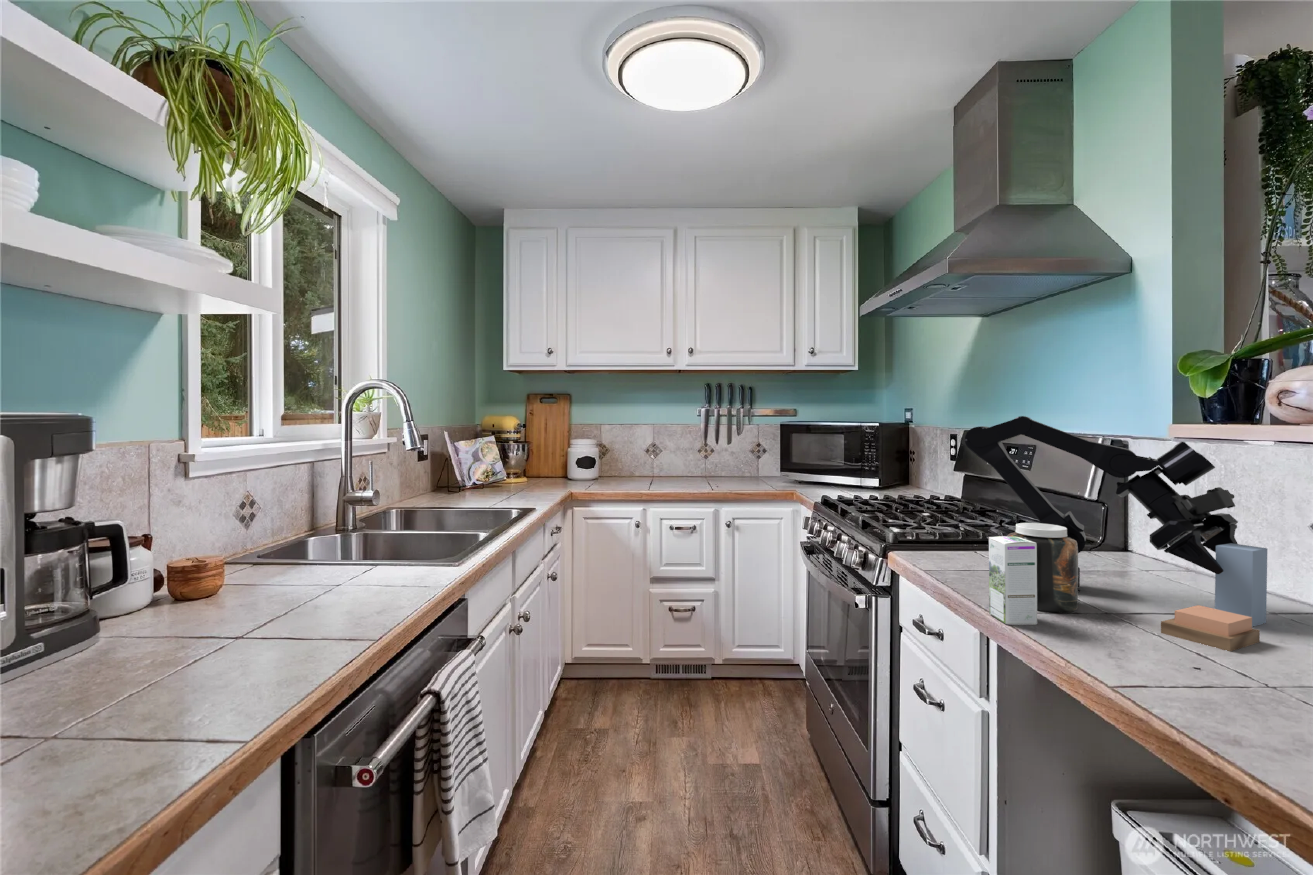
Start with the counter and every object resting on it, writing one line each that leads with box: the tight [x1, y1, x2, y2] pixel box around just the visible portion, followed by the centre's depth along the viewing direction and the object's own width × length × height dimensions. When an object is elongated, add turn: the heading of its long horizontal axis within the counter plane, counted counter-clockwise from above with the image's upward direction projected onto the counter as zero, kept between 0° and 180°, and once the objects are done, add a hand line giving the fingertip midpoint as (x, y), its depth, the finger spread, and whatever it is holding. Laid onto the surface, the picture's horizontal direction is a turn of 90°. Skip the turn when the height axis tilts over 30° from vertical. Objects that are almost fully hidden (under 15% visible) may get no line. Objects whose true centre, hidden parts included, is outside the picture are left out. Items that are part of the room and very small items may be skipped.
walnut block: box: [1160, 617, 1261, 653], centre depth 98 cm, size 9×9×2 cm
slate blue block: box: [1214, 543, 1268, 628], centre depth 106 cm, size 5×5×13 cm
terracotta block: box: [1174, 604, 1253, 636], centre depth 98 cm, size 7×7×2 cm
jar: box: [1006, 522, 1079, 613], centre depth 117 cm, size 12×12×15 cm
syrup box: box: [988, 535, 1038, 626], centre depth 108 cm, size 6×6×14 cm
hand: (1234, 569), depth 107 cm, fingers open, 9 cm apart
